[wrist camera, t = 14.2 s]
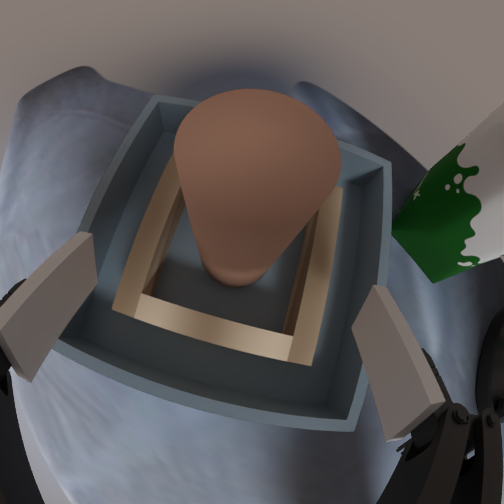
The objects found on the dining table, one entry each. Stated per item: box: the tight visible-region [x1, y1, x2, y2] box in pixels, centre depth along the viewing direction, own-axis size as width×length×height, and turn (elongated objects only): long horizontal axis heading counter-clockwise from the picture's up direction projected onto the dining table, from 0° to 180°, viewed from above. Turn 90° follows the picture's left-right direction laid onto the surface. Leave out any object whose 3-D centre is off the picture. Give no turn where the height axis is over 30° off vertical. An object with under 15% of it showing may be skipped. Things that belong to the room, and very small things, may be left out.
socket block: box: [112, 152, 343, 366], centre depth 17 cm, size 12×12×3 cm
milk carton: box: [391, 103, 504, 283], centre depth 13 cm, size 9×9×20 cm
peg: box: [174, 89, 341, 288], centre depth 13 cm, size 5×5×12 cm
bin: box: [52, 94, 392, 432], centre depth 18 cm, size 20×20×4 cm
